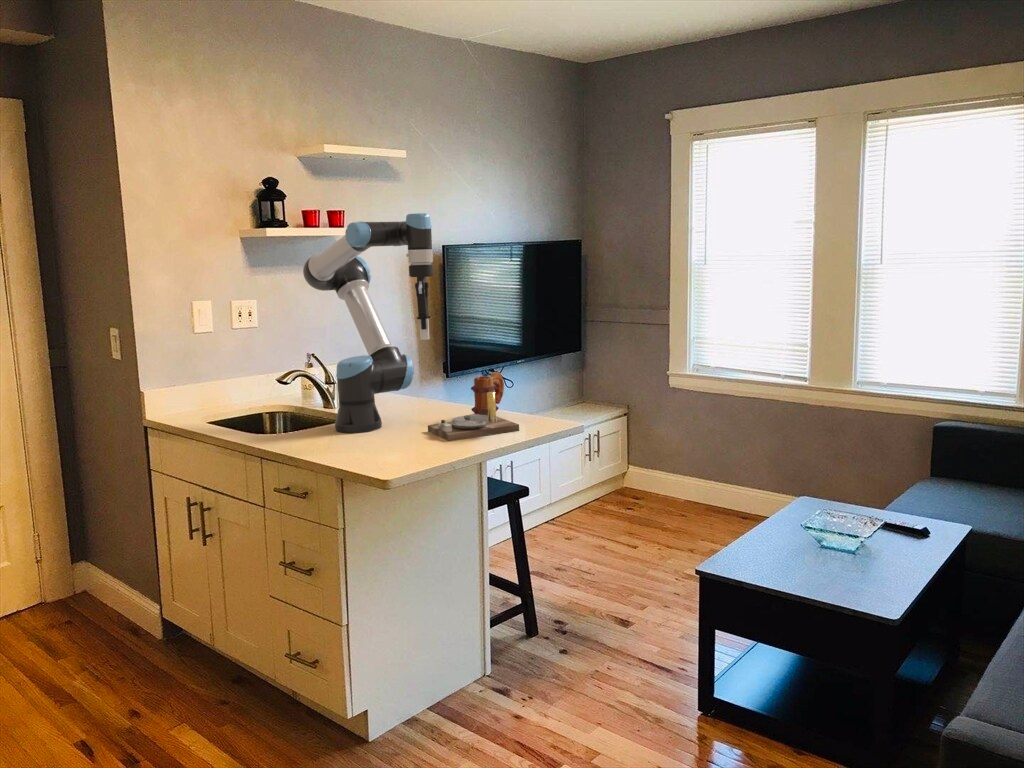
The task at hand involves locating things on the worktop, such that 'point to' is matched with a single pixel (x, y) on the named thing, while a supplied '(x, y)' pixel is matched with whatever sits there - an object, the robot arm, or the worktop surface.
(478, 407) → the mug
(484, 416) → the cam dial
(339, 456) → the worktop surface
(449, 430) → the stand
